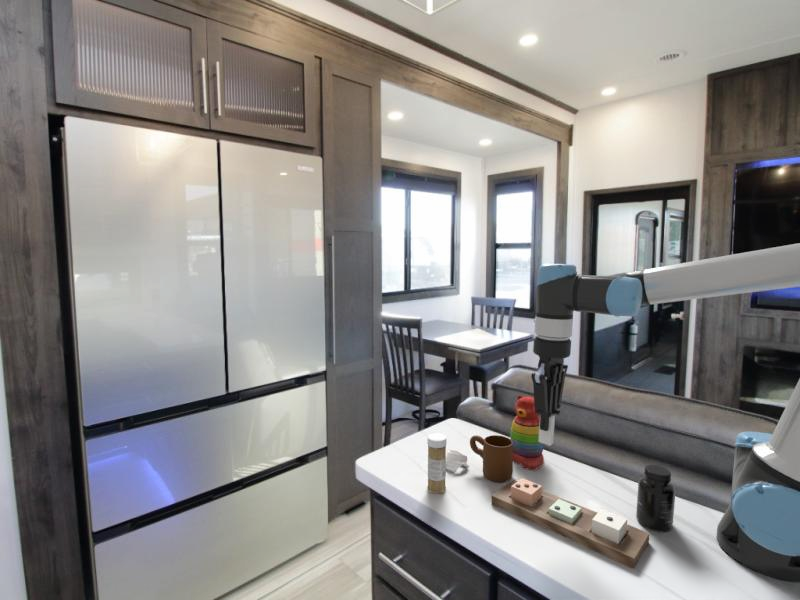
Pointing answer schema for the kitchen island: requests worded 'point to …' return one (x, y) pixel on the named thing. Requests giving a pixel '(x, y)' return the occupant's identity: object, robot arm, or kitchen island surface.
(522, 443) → the stacking bear
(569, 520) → the two-pip button
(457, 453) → the crumpled white paper
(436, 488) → the sprinkles bottle
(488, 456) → the mug
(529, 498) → the three-pip button
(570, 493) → the kitchen island surface
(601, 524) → the one-pip button
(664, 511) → the supplement bottle
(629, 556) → the button board
